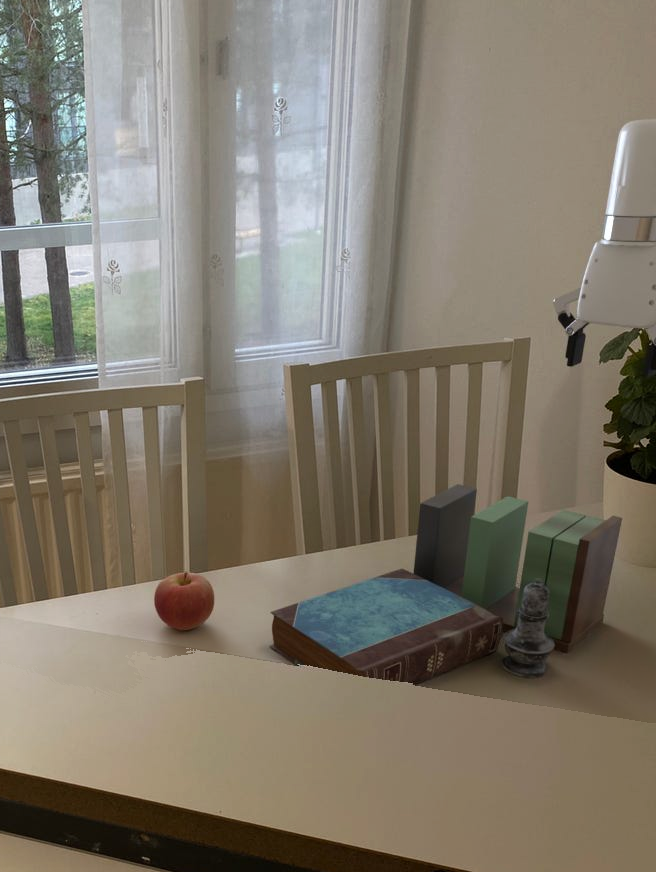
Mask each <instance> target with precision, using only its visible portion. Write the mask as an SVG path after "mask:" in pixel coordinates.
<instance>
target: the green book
mask: <svg viewBox="0 0 656 872" xmlns="http://www.w3.org/2000/svg"><path fill="white" fill-rule="evenodd" d="M528 508H529V500H526V499H525V500H524V499H522V498H521V499H520V498H517V497H513V496H505V497H504V498H502V499H500V500H498V501H497V502H495V503H493V504H491V505H490V506H488V507H486V508H484V509H483V510H481V511H479V512H477V513H476V514H475V513H474V516H472V517H471V523H470V531H469V539H468V547H467V555H466V563H465V571H464V579H463V587H462V595H461V597H462V598H464V599H466V600H468V601H470V602H472V603H474V604H476V605H478V606H480V607H482V608H483V609H485V610H486V609H487V608H488V607H490V606H491V605H493V604H494V603H495V602H497V601H498V600H500V599H501V598H503V597H504V596H505V595H507V594H508V593H510V592H511V591H512V590H514V589H515V587H517V581H518V580H517V579H518V573H519V566H520V560H521V553H522V547H523V539H524V534H525V527H526V521H527V514H528Z"/></svg>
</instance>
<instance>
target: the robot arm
mask: <svg viewBox="0 0 656 872" xmlns="http://www.w3.org/2000/svg"><path fill="white" fill-rule="evenodd" d="M612 165H613V166H612V172H611V178H610V183H609V190H608V196H607V202H606V209H605V213H604V214H605V215H604V220H603V226H602V232H601V237H600V240H598V241H596V242H595V243H594V246H593V248H592V250H591V252H590V256H589V259H588V262H587V265H586V268H585V272H584V274H583V279H582V283H581V287H579V288H577V289H574V290H572V291H570V292H568V293H565V294H562V295H560V296H558V297H556V298H554V299H553V301H552V302H553V303H552V304H553V306H554V309H555V312H556V314H557V320H558V322H559V323H560V325H561V326H562V327H563V329H564V331H565V334H566V336H567V344H566V349H565V355H564V357H565V359H567V361H566V366H567V367H570V368H572V367H574V366H577V365H579V364H581V363H582V361H583V355H584V351H585V345H586V337H587V335H586V333H585V332H584V330H585V329H586V328H587V327H588V326H589V325H590V324H593V325H601V326H602V325H603V326H611V327H620V328H629V329H644V331H645V332H646V334H647V335H648V337H649V339H650V341H651V344H650V345H647V347H646V350H645V351H646V352H645V357H644V362H643V367H642V373H641V376H642V377H643V378H650V377H652V376H654V375H656V118H650V119H649V118H648V119H636V120H631V121H628V122H627V123H625V124H624V125H623V126H622V127H621V129H620V131H619V133H618V137H617V141H616V148H615V155H614V160H613V164H612ZM577 300H578V301H577ZM575 301H577V309H576V316H577V318H575V316H574V315H573V314H572V312H571V310H570V306H569V305H570V304H571V303H573V302H575Z"/></svg>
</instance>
